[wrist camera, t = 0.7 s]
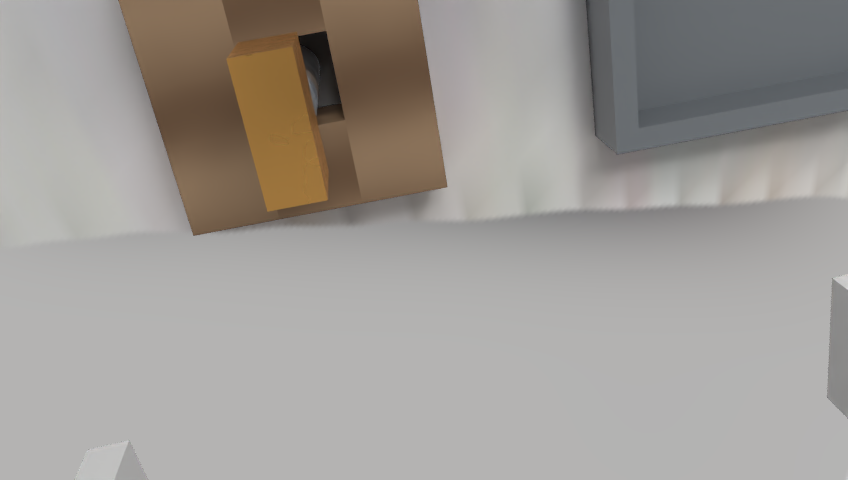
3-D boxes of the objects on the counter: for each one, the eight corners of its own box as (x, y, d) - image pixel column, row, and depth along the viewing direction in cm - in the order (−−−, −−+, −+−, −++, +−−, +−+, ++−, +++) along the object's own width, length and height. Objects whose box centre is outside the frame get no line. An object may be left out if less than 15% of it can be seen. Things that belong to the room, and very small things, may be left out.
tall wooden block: (255, 15, 32) (222, 59, 22) (306, 6, 32) (295, 46, 22) (283, 130, 34) (264, 212, 24) (331, 120, 34) (330, 199, 25)
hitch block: (127, -41, 30) (106, -36, 27) (397, -90, 30) (403, -89, 28) (204, 209, 35) (193, 235, 32) (438, 165, 35) (447, 187, 32)
